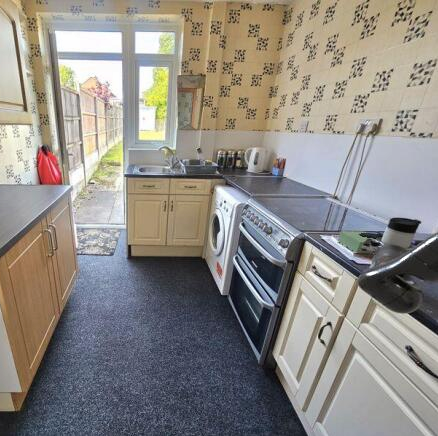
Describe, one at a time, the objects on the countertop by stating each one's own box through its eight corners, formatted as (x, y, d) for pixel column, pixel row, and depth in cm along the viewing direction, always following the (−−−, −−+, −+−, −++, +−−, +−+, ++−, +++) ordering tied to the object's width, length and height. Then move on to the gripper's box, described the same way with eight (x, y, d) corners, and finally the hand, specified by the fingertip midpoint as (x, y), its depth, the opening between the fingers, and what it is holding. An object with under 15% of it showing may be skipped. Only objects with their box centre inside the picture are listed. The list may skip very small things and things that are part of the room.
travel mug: (399, 284, 76) (427, 224, 69) (373, 279, 78) (398, 221, 70) (387, 273, 81) (413, 217, 74) (364, 269, 83) (386, 214, 76)
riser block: (360, 242, 103) (364, 231, 101) (381, 254, 94) (386, 242, 92) (337, 241, 103) (340, 231, 101) (355, 253, 94) (360, 242, 92)
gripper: (437, 260, 60) (432, 240, 71) (362, 241, 69) (368, 226, 81) (423, 286, 63) (421, 262, 74) (353, 264, 72) (360, 246, 83)
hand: (393, 243), depth 77 cm, fingers closed on travel mug, 6 cm apart
